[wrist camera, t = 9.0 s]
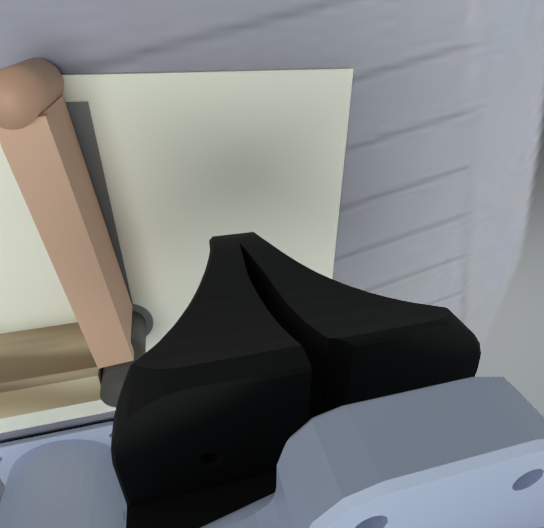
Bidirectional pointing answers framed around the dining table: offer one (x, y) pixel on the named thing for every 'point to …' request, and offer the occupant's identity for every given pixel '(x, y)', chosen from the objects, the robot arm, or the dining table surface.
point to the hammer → (59, 369)
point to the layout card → (184, 188)
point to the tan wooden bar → (65, 205)
